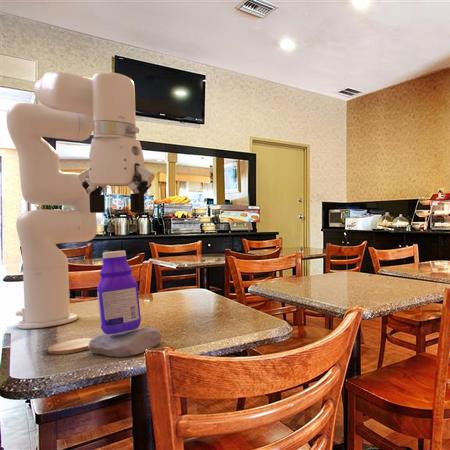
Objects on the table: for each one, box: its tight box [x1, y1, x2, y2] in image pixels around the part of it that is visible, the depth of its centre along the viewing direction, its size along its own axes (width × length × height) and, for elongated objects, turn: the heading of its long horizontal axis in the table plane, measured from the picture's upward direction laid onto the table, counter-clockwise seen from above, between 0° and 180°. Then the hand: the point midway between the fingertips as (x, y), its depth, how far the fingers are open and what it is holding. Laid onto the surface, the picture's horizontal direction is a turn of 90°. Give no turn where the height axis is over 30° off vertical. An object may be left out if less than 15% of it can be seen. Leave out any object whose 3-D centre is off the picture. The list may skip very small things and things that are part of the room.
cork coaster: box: [47, 337, 94, 355], centre depth 91 cm, size 9×9×1 cm
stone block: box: [87, 326, 162, 358], centre depth 89 cm, size 12×5×10 cm
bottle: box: [96, 250, 142, 334], centre depth 88 cm, size 7×6×17 cm
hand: (117, 212), depth 88 cm, fingers open, 9 cm apart
